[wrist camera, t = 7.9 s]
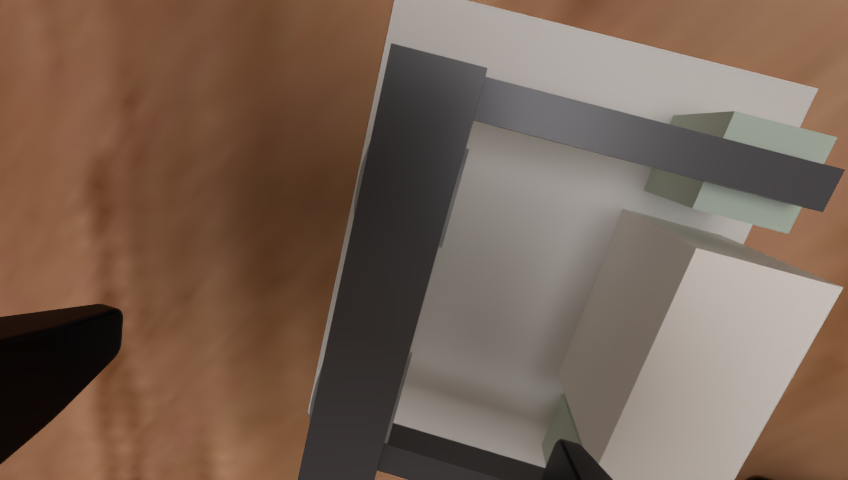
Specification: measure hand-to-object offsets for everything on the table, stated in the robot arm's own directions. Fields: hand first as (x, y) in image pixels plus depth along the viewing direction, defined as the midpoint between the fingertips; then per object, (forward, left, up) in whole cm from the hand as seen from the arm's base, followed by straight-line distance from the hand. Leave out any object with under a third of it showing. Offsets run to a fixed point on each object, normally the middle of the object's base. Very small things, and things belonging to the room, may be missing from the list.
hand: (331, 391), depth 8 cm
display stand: (-5, 0, -12) cm, 13 cm away
